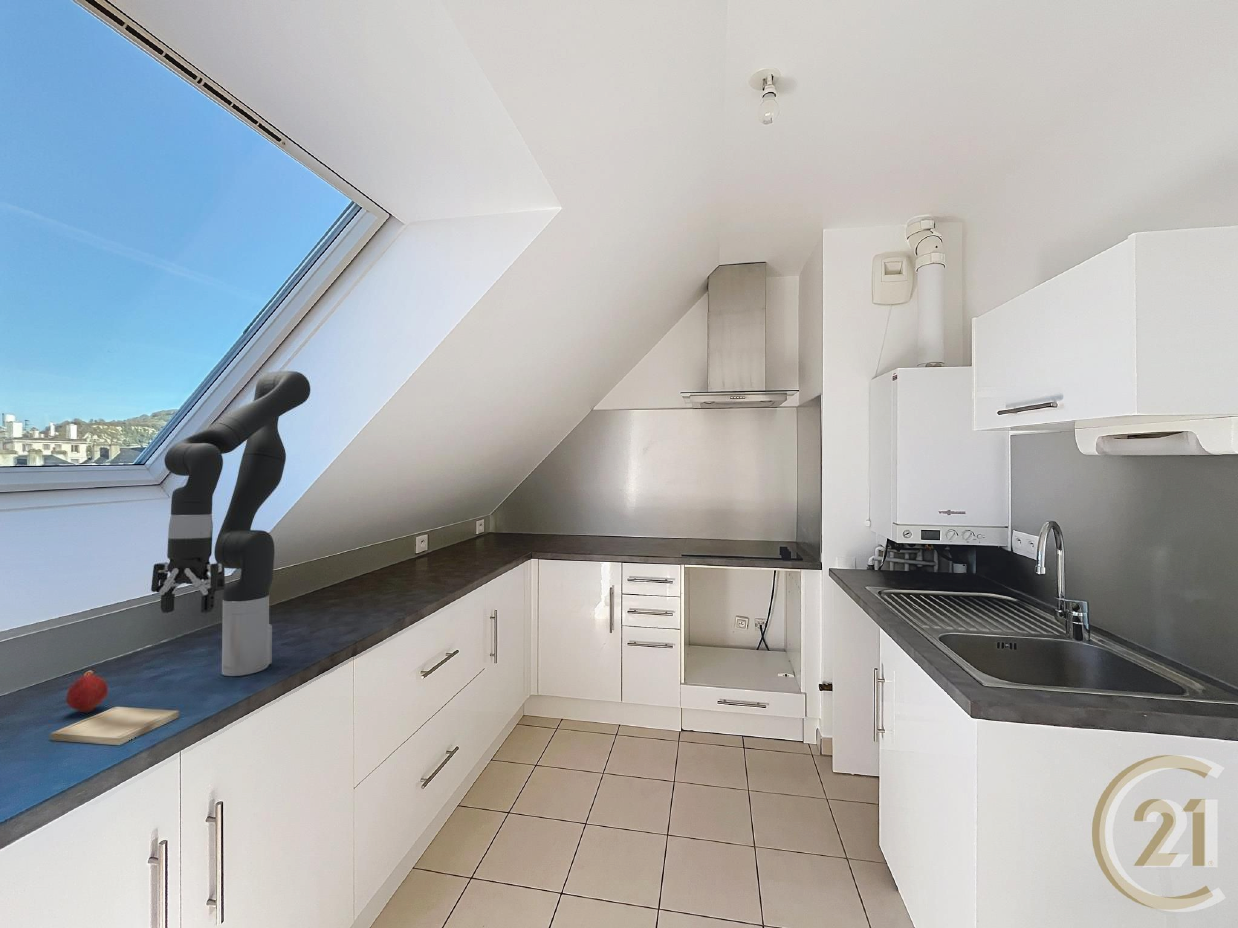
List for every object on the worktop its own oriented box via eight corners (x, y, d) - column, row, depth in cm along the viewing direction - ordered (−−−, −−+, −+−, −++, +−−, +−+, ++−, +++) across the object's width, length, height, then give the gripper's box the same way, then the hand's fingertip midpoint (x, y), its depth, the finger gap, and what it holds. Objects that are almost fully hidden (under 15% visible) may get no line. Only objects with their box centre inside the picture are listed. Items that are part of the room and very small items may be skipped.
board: (116, 712, 107) (116, 706, 107) (179, 716, 105) (179, 710, 105) (50, 739, 96) (50, 732, 96) (119, 745, 94) (119, 737, 94)
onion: (76, 720, 103) (76, 678, 104) (59, 715, 106) (60, 674, 106) (113, 708, 109) (114, 668, 109) (97, 704, 111) (97, 664, 111)
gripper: (235, 534, 121) (232, 608, 120) (173, 534, 121) (170, 608, 120) (209, 537, 113) (205, 616, 112) (142, 537, 114) (138, 615, 113)
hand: (187, 612), depth 116 cm, fingers open, 8 cm apart
